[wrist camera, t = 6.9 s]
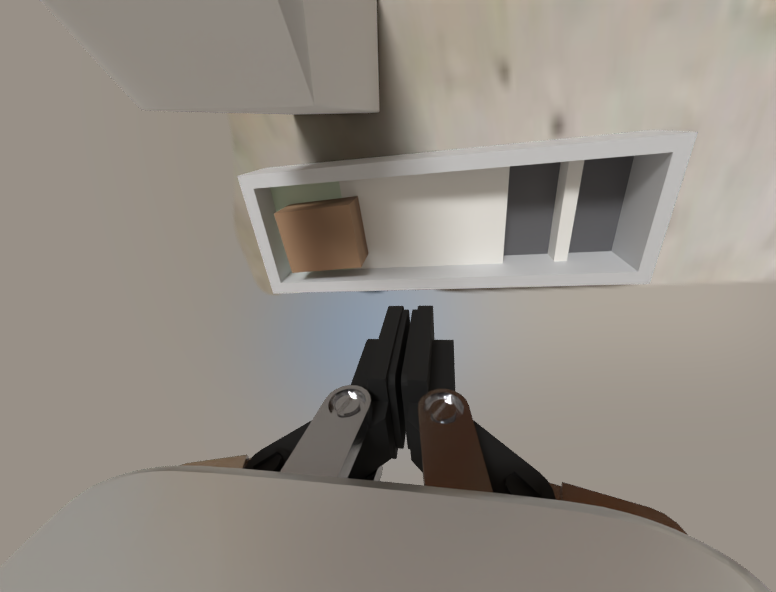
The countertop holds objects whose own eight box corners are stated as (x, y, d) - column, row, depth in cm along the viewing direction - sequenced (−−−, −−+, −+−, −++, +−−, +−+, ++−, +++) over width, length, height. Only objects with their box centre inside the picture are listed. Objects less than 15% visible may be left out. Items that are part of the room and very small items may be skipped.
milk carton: (380, 112, 25) (261, 102, 8) (292, 114, 26) (27, 109, 9) (377, -11, 21) (162, -457, 5) (275, -4, 22) (-199, -356, 6)
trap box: (653, 129, 23) (698, 132, 19) (619, 260, 27) (649, 283, 24) (265, 167, 28) (237, 175, 24) (293, 272, 33) (273, 293, 29)
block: (357, 195, 26) (348, 204, 23) (368, 253, 28) (361, 267, 26) (289, 204, 27) (273, 213, 24) (305, 259, 29) (292, 272, 27)
